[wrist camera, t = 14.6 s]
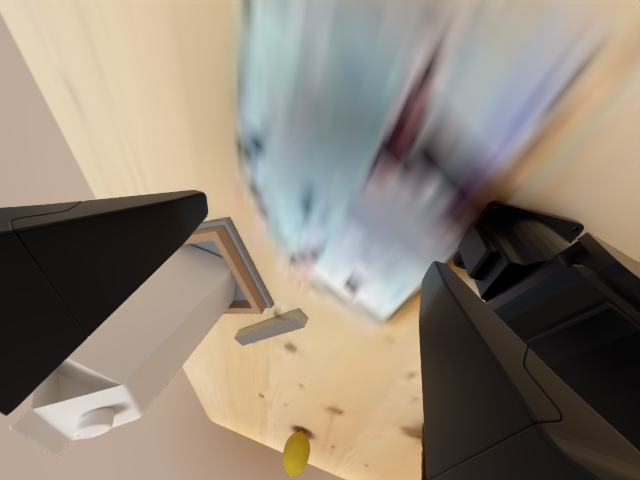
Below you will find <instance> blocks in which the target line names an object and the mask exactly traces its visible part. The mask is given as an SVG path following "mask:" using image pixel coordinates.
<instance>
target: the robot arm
mask: <svg viewBox="0 0 640 480" xmlns="http://www.w3.org/2000/svg"><path fill="white" fill-rule="evenodd" d="M495 206H499V207H498V208H497V209H496V210H492V209H493V207H495ZM207 215H208V205H207V197H206V194H205V193H203V192H201V191H197V190H188V191H178V192H168V193H158V194H148V195H138V196H128V197H118V198H108V199H98V200H88V201H84V202H82V201H78V202H68V203H57V204H46V205H33V206H21V207H7V208H0V413H1V414H3V415H5V416H7V415H8V414H10V413H11V412H12V411H13V410H15V408H16V407H18V406H19V405H20V404H21V403H22V402H23V401H24V400H25V399H26V398H27V397H28V396H29V395H30V394H31V393H32V392H33V391H34V390H35V389H36V388H37V387H38V386H39V385H40V384H41V383H42V382H43V381H44V380H45V379H46V378H48V377H49V376H50V375H51V374H52V373H53V372H54V371H55V370H56V369H57V368H58V367H59V366H60V365H61V364H62V363H63V362H64V361H65V360H66V359H67V358H68V357H69V356H70V355H71V354H72V353H73V352H74V351H75V350H76V349H77V348H78V347H79V346H80V345H81V344H82V343H83V342H84V341H85V340H86V339H87V338H88V336H90V335H91V334H92V333H93V332H94V331H95V330H96V329H97V328H98V327H99V326H100V325H101V324H102V323H103V322H104V321H106V320H107V319H108V318H109V317H110V316H111V315H112V314H113V313H114V312H115V311H116V310H117V309H118V308H119V307H120V306H121V305H122V304H123V303H124V302H125V301H126V300H127V299H128V298H129V297H130V296H131V295H132V294H133V293H134V292H135V291H136V290H137V289H138V288H139V287H140V286H141V285H142V284H143V283H144V282H145V281H146V280H147V279H149V278H150V277H151V276H152V275H153V274H154V273H155V272H156V271H157V270H158V269H159V268H160V267H161V266H162V265H163V264H164V263H165V262H166V261H167V260H168V259H169V258H170V257H171V256H172V255H173V254H174V253H175V252H176V251H177V250H178V249H179V248H180V247H181V246H182V245H183V244H184V243H185V242H186V241H187V240H188V239H189V237H190V236H191V235H192V234H193V233H194V231H195V230H196V229H197V228H198V227H199V225H200V224H201V223H202V222H203V221H204V219H205V218H206V217H207ZM575 226H576V228H575V229H572V230H570V229H571V228H572V227H575ZM583 230H584V226H583V225H582V224H581V223H580V222H578V221H574V220H570V219H566V218H562V217H558V216H554V215H551V214H547V213H543V212H539V211H535V210H531V209H527V208H523V207H519V206H515V205H511V204H507V203H503V202H499V201H494V202H491V203H490V204H489V205H488V206H487V208H486V209H485V211H484V212H483V214H482V215H481V217H480V218H479V220H478V222H477V223H475V224H473V225H472V226H471V228H470V229H469V231H468V233H467V234H466V236H465V237H464V239H463V241H462V242H461V244H460V245H459V247H458V248H459V251H458V253H457V255H456V256H455V258H454V260H453V261H454V265H455V266H457V267H459V268H463V269H466V270H467V273H468V275H469V277H470V279H474V281H475V283H476V286H477V288H478V291H479V294H480V296H481V298H482V299H483V300H485V301H486V302H483V301H482V300H481V299H480V298H479V297H478V296H477V295H476V294H475V292H474V291H473V290H472V289H471V288H470V287H469V286H468V285H467V284H466V283H465V282H464V281H463V280H462V279H461V278H460V277H459V276H458V275H457V274H456V273H455V272H454V271H453V270H452V269H451V268H450V267H449V266H448V265H447V264H444V263H441V262H438V261H434V262H433V263H432V264H431V266H430V267H429V269H428V271H427V272H426V274H425V276H424V278H423V280H422V287H421V299H420V311H419V335H420V355H421V374H422V394H423V413H424V432H425V452H426V471H427V480H640V263H639V262H637V261H635V260H634V259H632V258H630V257H629V256H627V255H625V254H624V253H622V252H620V251H619V250H617V249H615V248H614V247H612V246H610V245H609V244H607V243H605V242H604V241H602V240H600V239H599V238H597V237H595V236H593V235H592V234H590V233H588V232H587V233H586V234H584V235H582V236H581V237H579V238H578V240H579V241H577V242H576V243H574V244H573V245H571V243H572V242H573V241H574V239H575V238H576V237H577V236H578V235H579V234H580V233H581V232H582V231H583ZM458 261H462V262H460V263H459V262H458Z"/></svg>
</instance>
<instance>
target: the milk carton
mask: <svg viewBox="0 0 640 480" xmlns="http://www.w3.org/2000/svg"><path fill="white" fill-rule="evenodd" d="M235 287H236V279H235V277H234V275H233V274H232V272H231V270H230V268H229V267H228V265H227V263H226V261H225V260H224V258H222V257H219V256H217V255H214V254H212V253H209V252H207V251H205V250H202V249H200V248H197V247H195V246H192V245H190V244H185V245H183V246H182V247H181V248H179V249H178V250H177V251H176V252H175V253H174V254H173V255H172V256H171V257H170V258H169V259H168V260H167V261H166V262H165V263H164V264H163V265H162V266H161V267H160V268H159V269H158V270H157V271H156V272H155V273H154V274H153V275H152V276H151V277H150V278H149V279H147V280H146V281H145V282H144V283H143V284H142V285H141V286H140V287H139V288H138V289H137V290H136V291H135V292H134V293H133V294H132V295H131V296H130V297H129V298H128V299H127V300H126V301H125V302H124V303H123V304H122V305H121V306H120V307H119V308H118V309H117V310H116V311H115V312H114V313H113V314H112V315H111V316H110V317H109V318H108V319H107V320H106V321H104V322H103V323H102V324H101V325H100V326H99V327H98V328H97V329H96V330H95V331H94V332H93V333H92V334H91V335H90V336H88V338H87V339H86V340H85V341H84V342H83V343H82V344H81V345H80V346H79V347H78V348H77V349H76V350H75V351H74V352H73V353H72V354H71V355H70V356H69V357H68V358H67V359H66V360H65V361H64V362H63V363H62V364H61V365H60V366H59V367H58V368H57V369H56V370H55V371H54V372H53V373H52V374H51V375H50V376H49V377H48V378H46V379H45V380H44V381H43V382H42V383H41V384H40V385H39V386H38V387H37V388H36V389H35V390H34V395H33V400H32V405H31V409H30V410H28V411H27V412H26V413H25V414H24V415H23V416H21V417H20V418H19V419H18V420H17V421H16V422H15V423H13V424H12V425H11V426H10V427H9V429H11V430H13V431H14V432H16V433H18V434H19V435H21V436H23V437H24V438H26V439H27V440H29V441H31V442H32V443H34V444H36V445H37V446H39V447H41V448H42V449H44V450H46V451H47V452H49V453H51V454H52V455H54V456H56V457H58V456H59V455H60V453H62V451H63V450H64V449H65V448H66V447H67V446H68V445H69V444H70V443H71V442H72V441H73V440H76V439H86V438H91V437H95V436H98V435H101V434H103V433H105V432H107V431H109V430H110V429H111V428H113V427H116V426H119V425H121V424H124V423H127V422H130V421H133V420H136V419H139V418H141V416H142V415H143V414H144V413H145V412H146V411H147V409H148V408H149V407H150V406H151V404H152V403H153V402H154V401H155V399H156V398H157V397H158V396H159V394H160V393H161V392H162V391H163V389H164V388H165V387H166V385H167V384H168V383H169V382H170V380H171V379H172V378H173V377H174V375H175V374H176V373H177V372H178V370H179V369H180V368H181V366H182V365H183V364H184V363H185V361H186V360H187V359H188V358H189V356H190V355H191V354H192V353H193V351H194V350H195V349H196V347H197V346H198V345H199V344H200V342H201V341H202V340H203V339H204V337H205V336H206V335H207V334H208V332H209V331H210V330H211V328H212V327H213V326H214V325H215V323H216V322H217V321H218V320H219V318H220V317H221V316H222V315H223V313H224V312H225V311H226V309H227V308H228V307H229V306H230V304H231V303H232V302H233V301H234V299H235Z"/></svg>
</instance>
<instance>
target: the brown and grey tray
mask: <svg viewBox="0 0 640 480" xmlns="http://www.w3.org/2000/svg"><path fill="white" fill-rule="evenodd" d="M185 244H190V245H192V246H195V247H197V248H200V249H202V250H205V251H207V252H209V253H212V254H214V255H217V256H219V257H222V258H224V260H225V261H226V263H227V265H228V267H229V268H230V270H231V272H232V274H233V275H234V277H235V279H236V287H235V299H234V301H233V302H232V303H231V304H230V306H229V307H228V308H227V309H226V311H225V312H224V313H230V314H262V313H263V311H264V310H265V308H272V306H273V305H274V303H273V301H272V299H271V297H270V295H269V293H268V291H267V289H266V287H265V285H264V283H263V281H262V279H261V277H260V275H259V273H258V271H257V270H256V268H255V266H254V264H253V262H252V260H251V258H250V256H249V254H248V252H247V250H246V248H245V246H244V244H243V242H242V240H241V238H240V236H239V234H238V232H237V230H236V228H235V226H234V225H233V223H232V221H231V219H230V217H229V218H223V219H218V220H213V221H207V222H202V223H201V224H200V225H199V227H198V228H197V229H196V230H195V231H194V233H193V234H192V235H191V236H190V237H189V239H188V240H187V241H186V242H185V243H184V244H183V245H185ZM183 245H182V246H183ZM182 246H181V247H182ZM181 247H180V248H181Z"/></svg>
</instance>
